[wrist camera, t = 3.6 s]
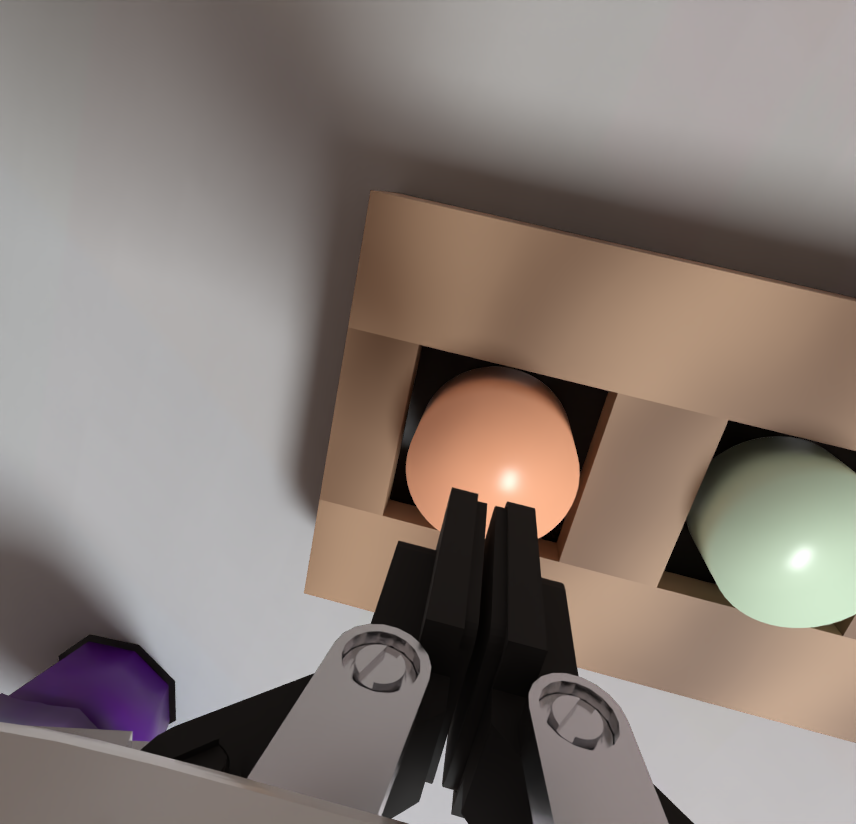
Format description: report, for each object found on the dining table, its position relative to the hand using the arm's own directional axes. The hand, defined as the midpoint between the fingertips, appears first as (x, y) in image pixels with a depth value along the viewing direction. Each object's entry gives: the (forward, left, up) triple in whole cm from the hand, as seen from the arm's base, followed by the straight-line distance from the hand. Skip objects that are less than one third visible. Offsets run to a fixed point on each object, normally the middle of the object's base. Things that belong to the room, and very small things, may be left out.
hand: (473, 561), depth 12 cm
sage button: (-8, 0, -6) cm, 10 cm away
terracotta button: (0, 0, -6) cm, 6 cm away
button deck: (-8, 0, -8) cm, 11 cm away
